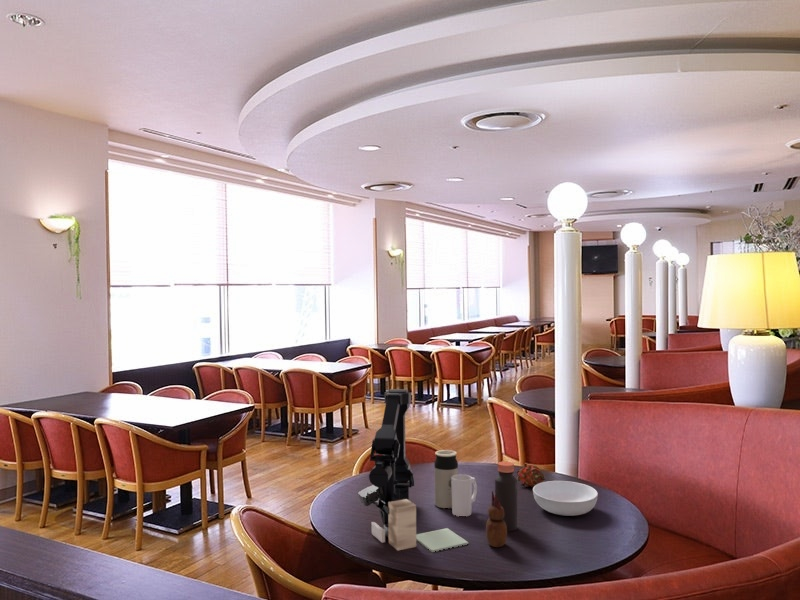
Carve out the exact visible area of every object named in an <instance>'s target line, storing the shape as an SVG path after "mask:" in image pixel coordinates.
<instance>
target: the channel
mask: <svg viewBox="0 0 800 600" xmlns="http://www.w3.org/2000/svg"><path fill="white" fill-rule="evenodd" d="M371 535H372V536H373V537H374V538H376V539H377V540H378V541H379V542H380V543H381V544H383V543H386V535H385V530H384V527H381V526H380V525H379V524H378V523H377V522H375V521H371Z"/></svg>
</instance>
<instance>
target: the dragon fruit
mask: <svg viewBox="0 0 800 600" xmlns="http://www.w3.org/2000/svg"><path fill="white" fill-rule="evenodd" d="M516 474H517V476H516V479H517V482H520V483H523V486H524V487H527V488H528V487H531V488H533V487H534V486H535V485H537V484H539V483H542V482H545V480H546V477H545V475H544V473H543V471H542V470H541V469H540V468H539V467H538V466H537V465H533V464H527V466H525V467H523V468H521V469H518V470H517V472H516Z"/></svg>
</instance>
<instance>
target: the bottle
mask: <svg viewBox="0 0 800 600" xmlns="http://www.w3.org/2000/svg"><path fill="white" fill-rule="evenodd" d="M497 473H498V475H497V476H496V477H495V478H494V495H495V494H496V497H497V499H498V501H499V502H500V505H501V506H502V507H503V509H504V518H503V520H504V521H505V523H506V526H507V533H508V532H514V531H517V529H518V480H517V477H515V476H514V473H515V463H514V462H512V461H504V460H503V461H499V462H498V463H497Z"/></svg>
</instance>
